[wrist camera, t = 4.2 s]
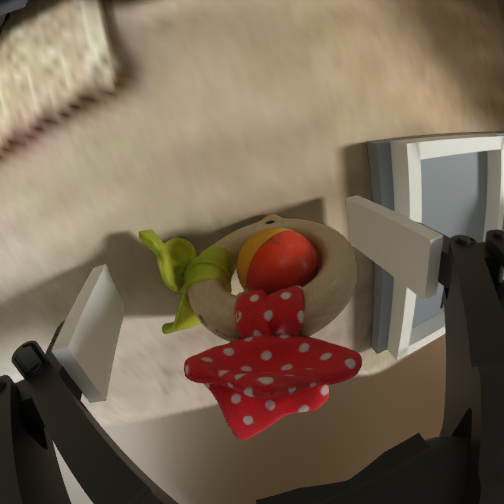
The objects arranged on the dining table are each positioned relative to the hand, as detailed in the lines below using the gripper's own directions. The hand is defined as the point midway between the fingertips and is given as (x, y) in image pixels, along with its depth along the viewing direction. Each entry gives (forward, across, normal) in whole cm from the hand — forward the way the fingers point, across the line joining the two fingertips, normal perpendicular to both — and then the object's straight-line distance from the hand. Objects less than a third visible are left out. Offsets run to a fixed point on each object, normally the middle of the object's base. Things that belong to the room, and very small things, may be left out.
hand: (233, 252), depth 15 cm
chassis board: (+1, +22, -4) cm, 22 cm away
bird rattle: (+2, 0, 0) cm, 2 cm away
